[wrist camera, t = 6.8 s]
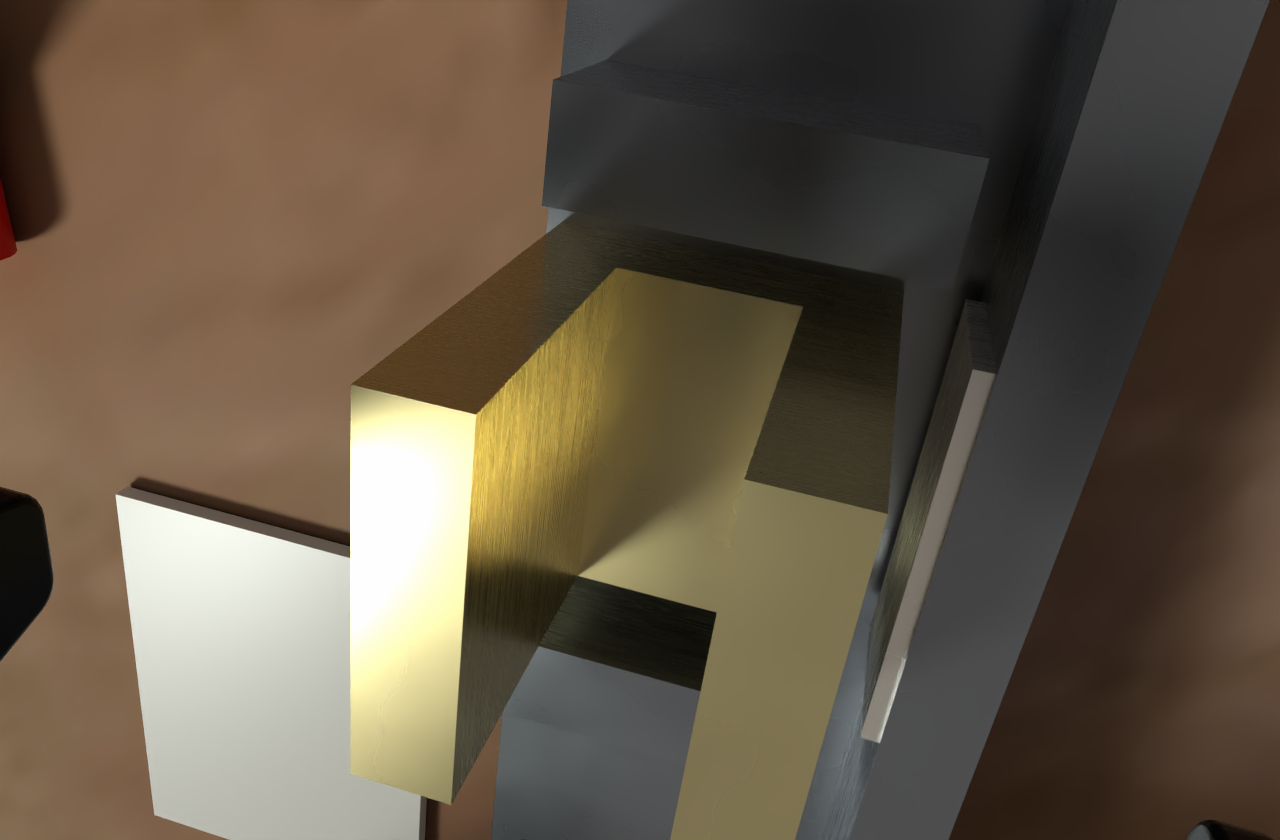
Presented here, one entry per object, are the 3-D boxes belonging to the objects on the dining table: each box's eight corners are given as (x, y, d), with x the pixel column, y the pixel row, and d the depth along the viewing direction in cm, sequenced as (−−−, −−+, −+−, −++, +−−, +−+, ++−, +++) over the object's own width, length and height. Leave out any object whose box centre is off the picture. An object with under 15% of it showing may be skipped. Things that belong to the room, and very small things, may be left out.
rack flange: (808, 1014, 20) (777, 1286, 16) (513, 919, 21) (415, 1151, 17) (1204, -185, 11) (1369, -260, 7) (645, -253, 12) (497, -353, 8)
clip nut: (827, 583, 13) (776, 906, 9) (534, 508, 14) (349, 774, 9) (904, 292, 11) (887, 514, 7) (562, 221, 12) (350, 383, 8)
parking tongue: (422, 888, 21) (415, 900, 21) (163, 804, 22) (154, 814, 22) (438, 569, 17) (430, 579, 17) (127, 486, 18) (115, 494, 18)
